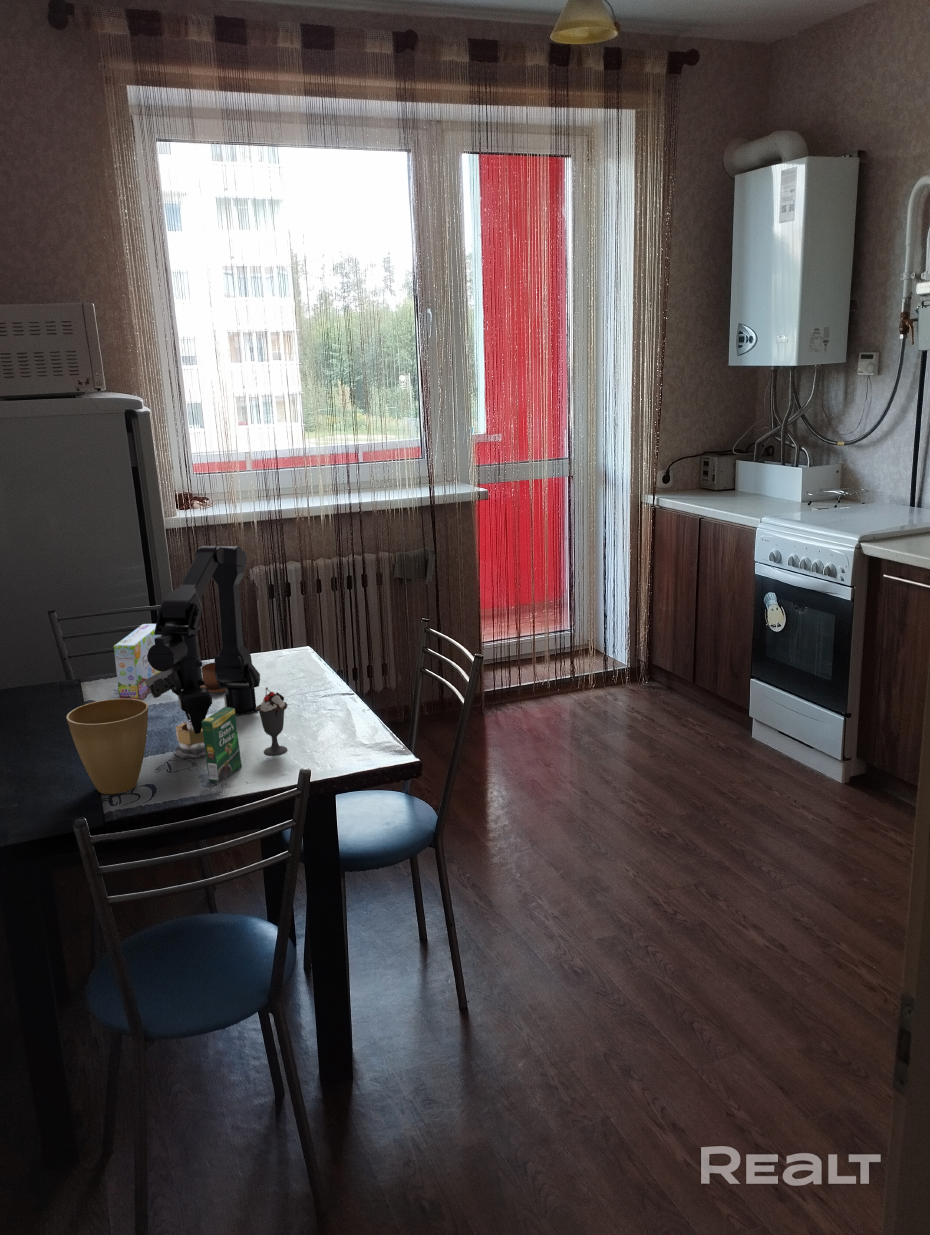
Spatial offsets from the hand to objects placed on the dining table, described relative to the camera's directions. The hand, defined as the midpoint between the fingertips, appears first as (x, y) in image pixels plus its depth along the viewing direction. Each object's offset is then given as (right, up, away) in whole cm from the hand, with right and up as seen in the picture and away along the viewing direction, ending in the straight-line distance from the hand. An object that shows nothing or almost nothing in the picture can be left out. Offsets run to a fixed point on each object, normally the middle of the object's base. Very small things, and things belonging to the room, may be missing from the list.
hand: (193, 726), depth 205 cm
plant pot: (-11, -10, -15) cm, 21 cm away
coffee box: (+10, -9, -12) cm, 17 cm away
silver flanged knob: (0, -5, +1) cm, 6 cm away
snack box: (-25, +4, +43) cm, 50 cm away
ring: (0, -2, +1) cm, 3 cm away
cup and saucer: (-5, +5, +41) cm, 42 cm away
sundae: (+18, -5, -1) cm, 18 cm away
